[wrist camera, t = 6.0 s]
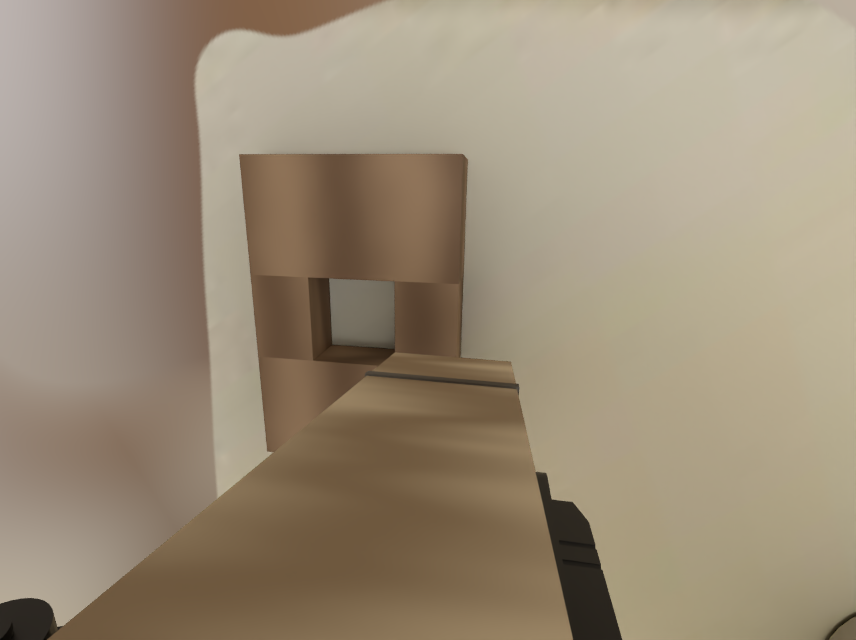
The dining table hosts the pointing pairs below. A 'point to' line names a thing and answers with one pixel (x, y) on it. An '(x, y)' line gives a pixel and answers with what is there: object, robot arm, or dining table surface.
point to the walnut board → (348, 266)
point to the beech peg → (365, 528)
